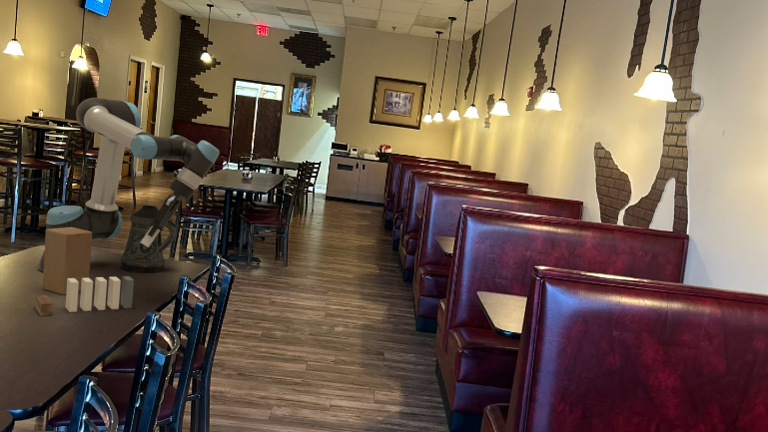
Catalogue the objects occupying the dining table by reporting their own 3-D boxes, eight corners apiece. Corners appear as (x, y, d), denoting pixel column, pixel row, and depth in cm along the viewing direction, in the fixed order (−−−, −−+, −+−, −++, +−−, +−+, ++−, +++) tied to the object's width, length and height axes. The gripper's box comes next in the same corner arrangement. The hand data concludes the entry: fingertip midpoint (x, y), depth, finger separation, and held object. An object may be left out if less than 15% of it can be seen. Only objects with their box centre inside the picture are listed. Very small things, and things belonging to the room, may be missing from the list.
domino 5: (126, 303, 207) (129, 276, 206) (131, 308, 203) (133, 280, 202) (120, 304, 205) (122, 276, 204) (125, 308, 201) (127, 280, 200)
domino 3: (100, 305, 202) (102, 277, 201) (104, 309, 198) (106, 281, 197) (93, 305, 200) (95, 277, 199) (98, 310, 196) (100, 281, 195)
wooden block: (88, 290, 216) (92, 231, 214) (62, 295, 207) (66, 233, 205) (68, 284, 221) (71, 226, 218) (41, 289, 211) (45, 228, 209)
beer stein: (119, 263, 260) (123, 201, 257) (169, 264, 268) (174, 205, 265) (120, 272, 245) (125, 207, 242) (174, 273, 253) (179, 210, 250)
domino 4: (113, 304, 204) (115, 276, 203) (118, 308, 200) (120, 280, 199) (107, 304, 203) (109, 276, 202) (111, 309, 199) (113, 280, 198)
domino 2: (86, 306, 199) (88, 277, 198) (91, 310, 195) (93, 281, 194) (79, 306, 198) (81, 277, 197) (84, 311, 194) (86, 281, 193)
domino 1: (72, 307, 197) (74, 278, 196) (76, 311, 193) (78, 282, 192) (65, 307, 195) (67, 278, 194) (69, 312, 191) (71, 282, 190)
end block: (45, 306, 194) (46, 295, 193) (52, 315, 187) (53, 303, 186) (34, 307, 192) (35, 295, 192) (40, 315, 185) (41, 303, 185)
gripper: (179, 180, 219) (139, 240, 216) (172, 174, 206) (129, 237, 203) (198, 192, 220) (158, 251, 216) (192, 187, 207) (150, 250, 203)
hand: (144, 244), depth 209 cm, fingers closed
